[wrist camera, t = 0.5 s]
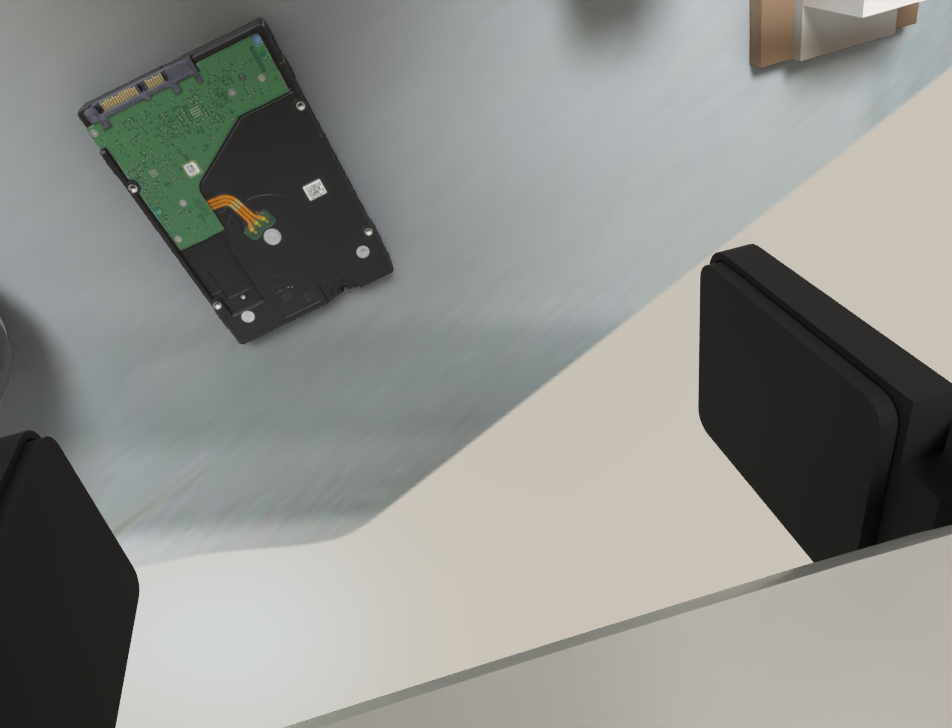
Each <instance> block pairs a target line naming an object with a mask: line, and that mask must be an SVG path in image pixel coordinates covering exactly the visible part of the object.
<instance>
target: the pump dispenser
mask: <svg viewBox="0 0 952 728" xmlns="http://www.w3.org/2000/svg"><path fill="white" fill-rule="evenodd" d="M13 367H14V360H13V352H12V348H11V344H10V341H9V339H8V336H7V332H6V329H5V326H4V323H3V321H2V319H1V317H0V403H1V401H2V400H3V398H4V396H5V394H6V392H7V390H8V388H9V386H10V383H11V379H12V375H13Z"/></svg>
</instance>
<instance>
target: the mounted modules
mask: <svg viewBox="0 0 952 728" xmlns="http://www.w3.org/2000/svg"><path fill="white" fill-rule="evenodd" d="M920 1H924V0H803V6H808V7H813V8H818V9H822V10H827V11H832V12H837V13H841V14H846V15H851V16H856V17H860V18H864V17H868V16H871V15H875V14H878V13H882V12H885V11H889V10H892V9H896V8H899V7H903V6H906V5H910V4H913V3H917V2H920Z"/></svg>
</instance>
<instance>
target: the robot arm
mask: <svg viewBox="0 0 952 728" xmlns="http://www.w3.org/2000/svg"><path fill="white" fill-rule="evenodd" d="M700 279H701V280H700V281H701V282H700V344H699V347H700V348H699V415H700V420H701V422H702V425H703V427H704V429H705V431H706V432H707V434H708V435H709V436H710V437H711V438H712V440H713V441H714V442H715V443H716V444H717V446H718V447H719V448H720V449H721V451H722V452H723V453H724V454H725V455H726V456H727V458H728V459H729V460H730V461H731V463H732V464H733V465H734V466H735V467H736V469H737V470H738V471H739V472H740V474H741V475H742V476H743V477H744V478H745V480H746V481H747V482H748V483H749V484H750V485H751V487H752V488H753V489H754V490H755V492H756V493H757V494H758V495H759V497H760V498H761V499H762V500H763V501H764V503H765V504H766V505H767V506H768V507H769V509H770V510H771V511H772V512H773V513H774V515H775V516H776V517H777V518H778V520H779V521H780V522H781V523H782V524H783V526H784V527H785V528H786V529H787V530H788V532H789V533H790V534H791V535H792V536H793V538H794V539H795V540H796V541H797V543H798V544H799V545H800V546H801V547H802V549H803V550H804V551H805V552H806V554H807V555H808V556H809V557H810V558H811V560H812V561H813V562H814V563H812V564H808V565H804V566H801V567H798V568H794V569H791V570H788V571H784V572H781V573H778V574H775V575H771V576H768V577H765V578H762V579H758V580H755V581H752V582H749V583H745V584H742V585H739V586H736V587H732V588H729V589H726V590H723V591H719V592H716V593H713V594H710V595H706V596H703V597H700V598H696V599H693V600H690V601H687V602H684V603H680V604H677V605H674V606H670V607H667V608H664V609H661V610H657V611H654V612H651V613H648V614H644V615H641V616H638V617H635V618H631V619H628V620H625V621H621V622H618V623H615V624H612V625H609V626H605V627H602V628H599V629H596V630H593V631H589V632H586V633H583V634H580V635H576V636H573V637H570V638H567V639H563V640H560V641H557V642H554V643H551V644H548V645H544V646H541V647H538V648H535V649H531V650H528V651H525V652H522V653H519V654H515V655H513V656H509V657H506V658H503V659H499V660H496V661H493V662H490V663H487V664H483V665H480V666H477V667H474V668H471V669H467V670H464V671H461V672H458V673H455V674H452V675H448V676H445V677H442V678H439V679H436V680H432V681H429V682H426V683H423V684H420V685H416V686H413V687H410V688H407V689H404V690H401V691H397V692H394V693H391V694H388V695H385V696H381V697H378V698H375V699H372V700H369V701H365V702H362V703H359V704H356V705H353V706H350V707H347V708H343V709H341V710H337V711H334V712H331V713H328V714H325V715H321V716H319V717H315V718H312V719H309V720H306V721H303V722H300V723H296V724H293V725H290V726H287V727H284V728H952V383H951V382H949V381H948V380H946V379H945V378H944V377H942V376H941V375H939V374H938V373H936V372H935V371H934V370H932V369H931V368H929V367H928V366H927V365H925V364H924V363H922V362H921V361H920V360H918V359H917V358H915V357H914V356H912V355H911V354H910V353H908V352H907V351H905V350H904V349H902V348H901V347H900V346H898V345H897V344H895V343H894V342H893V341H891V340H890V339H888V338H887V337H886V336H884V335H883V334H881V333H880V332H879V331H877V330H875V329H874V328H873V327H871V326H870V325H869V324H867V323H866V322H864V321H863V320H862V319H860V318H859V317H857V316H856V315H854V314H853V313H852V312H850V311H849V310H847V309H846V308H845V307H843V306H842V305H840V304H839V303H838V302H836V301H835V300H833V299H832V298H831V297H829V296H828V295H826V294H825V293H824V292H822V291H821V290H819V289H818V288H816V287H815V286H814V285H812V284H811V283H809V282H808V281H807V280H805V279H804V278H802V277H801V276H799V275H798V274H797V273H795V272H794V271H792V270H791V269H790V268H788V267H787V266H785V265H784V264H782V263H781V262H780V261H778V260H777V259H776V258H774V257H773V256H771V255H770V254H768V253H767V252H766V251H764V250H763V249H761V248H760V247H759V246H757V245H754V244H749V245H745V246H741V247H738V248H733V249H730V250H726V251H722V252H718V253H715V254H714V255H713V256H712V258H711V261H710V265H706V266H704V267H703V269H702V271H701V277H700ZM138 597H139V583H138V578H137V575H136V572H135V570H134V568H133V566H132V564H131V563H130V561H129V559H128V558H127V556H126V554H125V553H124V551H123V550H122V548H121V546H120V545H119V543H118V541H117V540H116V538H115V536H114V535H113V533H112V531H111V530H110V528H109V527H108V525H107V523H106V522H105V520H104V518H103V517H102V515H101V513H100V512H99V510H98V508H97V507H96V505H95V504H94V502H93V500H92V499H91V497H90V495H89V494H88V492H87V490H86V489H85V487H84V485H83V484H82V482H81V481H80V479H79V477H78V476H77V474H76V472H75V471H74V469H73V467H72V466H71V464H70V462H69V461H68V459H67V458H66V456H65V454H64V453H63V451H62V449H61V448H60V446H59V445H58V443H57V442H56V441H55V440H54V439H53V438H52V437H44V438H41V437H40V436H39V435H38V434H37V433H35V432H34V431H30V430H28V431H25V432H21V433H17V434H13V435H9V436H5V437H1V438H0V728H115V726H116V721H117V715H118V709H119V704H120V698H121V693H122V687H123V681H124V676H125V670H126V665H127V659H128V654H129V648H130V643H131V637H132V631H133V625H134V620H135V615H136V609H137V604H138Z"/></svg>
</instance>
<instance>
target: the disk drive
mask: <svg viewBox="0 0 952 728" xmlns="http://www.w3.org/2000/svg"><path fill="white" fill-rule="evenodd" d="M78 116H79V118H80V119H81V120H82V122H83V123H84V125H85V126H86V127H87V130H88V133H89V134H90V136H91V137H92V138H93V139H94V141H95V142H96V144H97V145H98V146H99V148H100V149H101V151H100V154H101V155H102V156H103V159H104V160H105V161H106V163H107V164H108V166H109V167H110V168H111V169H112V171H113V172H114V174H115V175H117V177H118V178H119V179H120V180H121V182H122V183H123V185H124V186H125V187H126V189H127V190H128V192H129V193H130V194H131V195H132V197H133V198H134V199H135V201H136V202H137V204H138V205H139V206H140V208H141V209H142V210H143V212H144V214H145V215H146V216H147V217H148V219H149V220H150V221H151V223H152V224H153V226H154V228H155V229H156V230H157V231H158V232H159V234H160V235H161V237H162V238H163V240H164V241H165V242H166V243H167V245H168V247H169V248H170V249H171V251H172V252H173V253H174V255H175V256H176V257H177V258H178V260H179V261H180V263H181V264H182V266H183V267H184V268H185V269H186V271H187V273H188V274H189V275H190V277H191V278H192V279H193V281H194V282H195V283H196V285H197V286H198V287H199V289H200V290H201V292H202V293H203V295H204V296H205V297H206V299H207V300H208V301H209V303H210V304H211V305H212V306H213V308H214V310H215V312H216V313H217V315H218V316H219V318H220V319H221V320H222V322H223V323H224V324H225V326H226V327H227V328H228V329H229V330H230V331H231V333H232V334H233V335H234V336H235V338H236V339H237V340H238V342H239V343H240V344H245V343H248V342H250V341H252V340H254V339H256V338H258V337H260V336H262V335H263V334H266V333H268V332H270V331H272V330H273V329H274V328H278V327H280V326H282V325H284V324H286V323H289V322H290V321H293V320H295V319H296V318H298V317H301V316H303V315H305V314H308V313H310V312H311V311H313V310H316V309H318V308H320V307H322V306H324V305H326V304H328V303H329V302H330V301H331V300H333V298H335V297H336V296H338V295H339V294H340V293H342V292H343V291H344V288H345V287H347V288H348V289H351V288H353V287H357V286H359V287H363V286H365V285H367V284H369V283H371V282H373V281H376V280H377V279H380V278H381V277H383V276H385V275H388V274H390V273H392V272H393V265H392V262H391V259H390V256H389V253H388V252H387V251H386V248H385V247H384V245H383V242H382V240H381V237H380V235H379V233H378V231H377V229H376V227H375V225H374V223H373V222H372V220H371V219H370V218H369V217H368V215H367V213H366V211H365V209H364V207H363V205H362V204H361V202H360V200H359V198H358V197H357V194H356V192H355V190H354V189H353V187H352V185H351V183H350V181H349V179H348V177H347V176H346V173H345V171H344V170H343V168H342V166H341V164H340V162H339V161H338V159H337V156H336V154H335V153H334V151H333V149H332V147H331V146H330V143H329V141H328V139H327V138H326V135H325V134H324V132H323V131H322V129H321V127H320V124H319V122H318V121H317V119H316V117H315V115H314V113H313V111H312V109H311V107H310V105H309V104H308V102H307V100H306V98H305V96H304V94H303V92H302V90H301V89H300V87H299V84H298V83H297V81H296V78H295V74H294V73H293V70H292V68H291V67H290V65H289V63H288V61H287V59H286V57H285V56H284V55H283V54H282V52H281V50H280V48H279V46H278V45H277V43H276V41H275V39H274V36H273V35H272V33H271V30H270V29H269V27H268V25H267V24H266V22H265V20H264V19H263V18H258V19H256V20H254V21H252V22H250V23H248V24H246V25H244V26H242V27H240V28H238V29H236V30H234V31H232V32H230V33H228V34H226V35H224V36H222V37H220V38H218V39H216V40H214V41H211V42H209V43H207V44H205V45H203V46H201V47H199V48H197V49H195V50H193V51H191V52H189V53H187V54H185V55H183V56H182V57H180V58H179V59H177V60H174V61H172V62H170V63H168V64H166V65H164V66H160V67H159V68H157V69H155V70H152V71H150V72H148V73H146V74H144V75H142V76H140V77H139V78H136V79H134V80H132V81H130V82H128V83H126V84H124V85H122V86H120V87H118V88H116V89H115V90H112V91H110V92H108V93H106V94H104V95H102V96H100V97H98V98H96V99H94V100H92V101H90V102H88V103H86V104H85V105H84V106H83V107H82V108H81V109H80V110H79V112H78Z"/></svg>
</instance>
